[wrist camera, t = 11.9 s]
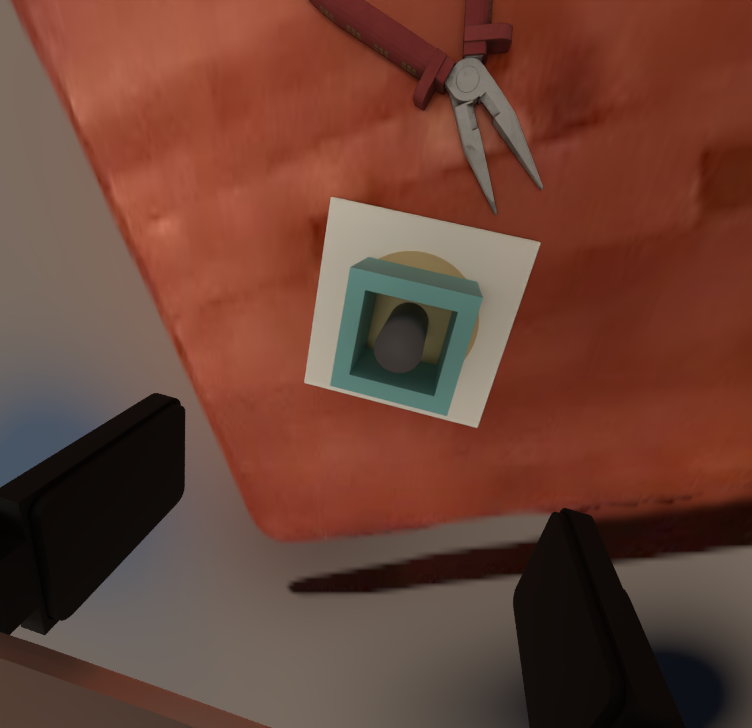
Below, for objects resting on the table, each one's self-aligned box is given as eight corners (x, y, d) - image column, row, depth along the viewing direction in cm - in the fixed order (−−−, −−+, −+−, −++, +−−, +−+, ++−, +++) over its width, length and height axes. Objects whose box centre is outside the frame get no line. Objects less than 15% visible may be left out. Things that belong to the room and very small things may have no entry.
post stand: (535, 240, 25) (568, 252, 18) (476, 418, 30) (483, 481, 23) (337, 197, 27) (295, 192, 19) (310, 375, 31) (269, 423, 24)
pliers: (433, 249, 27) (432, 252, 25) (267, -78, 23) (245, -113, 20) (610, 149, 24) (629, 142, 21) (455, -262, 19) (456, -331, 17)
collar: (477, 281, 25) (483, 297, 21) (447, 381, 28) (447, 416, 23) (368, 256, 26) (350, 266, 21) (349, 357, 28) (329, 385, 24)
